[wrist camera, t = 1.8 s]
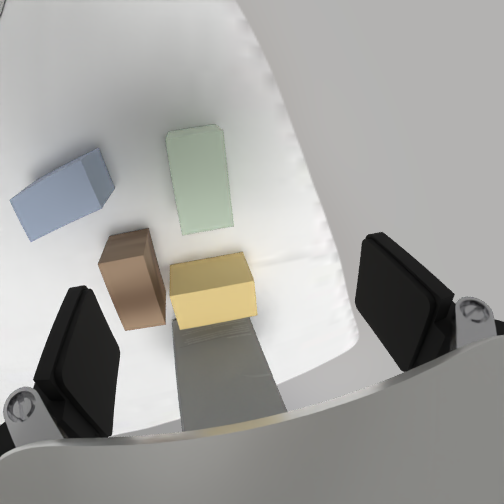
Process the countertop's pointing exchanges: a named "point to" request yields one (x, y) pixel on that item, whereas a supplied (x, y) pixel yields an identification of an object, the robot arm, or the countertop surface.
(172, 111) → the countertop surface
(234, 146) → the countertop surface
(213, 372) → the skincare box
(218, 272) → the ochre brick
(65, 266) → the countertop surface
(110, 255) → the walnut brick
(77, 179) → the slate brick
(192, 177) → the sage brick
